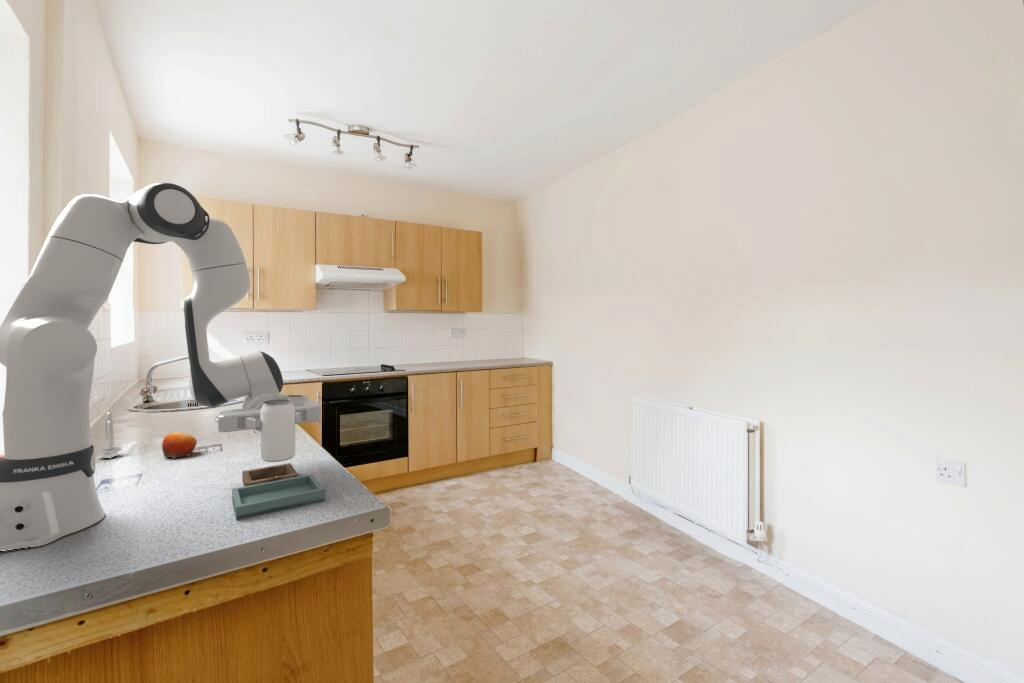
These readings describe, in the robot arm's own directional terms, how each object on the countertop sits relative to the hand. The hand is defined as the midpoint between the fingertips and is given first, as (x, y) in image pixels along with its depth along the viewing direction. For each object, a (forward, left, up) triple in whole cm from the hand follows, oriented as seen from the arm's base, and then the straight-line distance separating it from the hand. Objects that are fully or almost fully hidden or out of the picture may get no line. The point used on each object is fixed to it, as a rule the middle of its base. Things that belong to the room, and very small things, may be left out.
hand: (276, 422), depth 94 cm
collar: (0, +14, -17) cm, 22 cm away
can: (0, +1, -8) cm, 8 cm away
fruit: (-18, +54, -17) cm, 59 cm away
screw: (-34, +64, -17) cm, 74 cm away
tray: (0, +1, -17) cm, 17 cm away
